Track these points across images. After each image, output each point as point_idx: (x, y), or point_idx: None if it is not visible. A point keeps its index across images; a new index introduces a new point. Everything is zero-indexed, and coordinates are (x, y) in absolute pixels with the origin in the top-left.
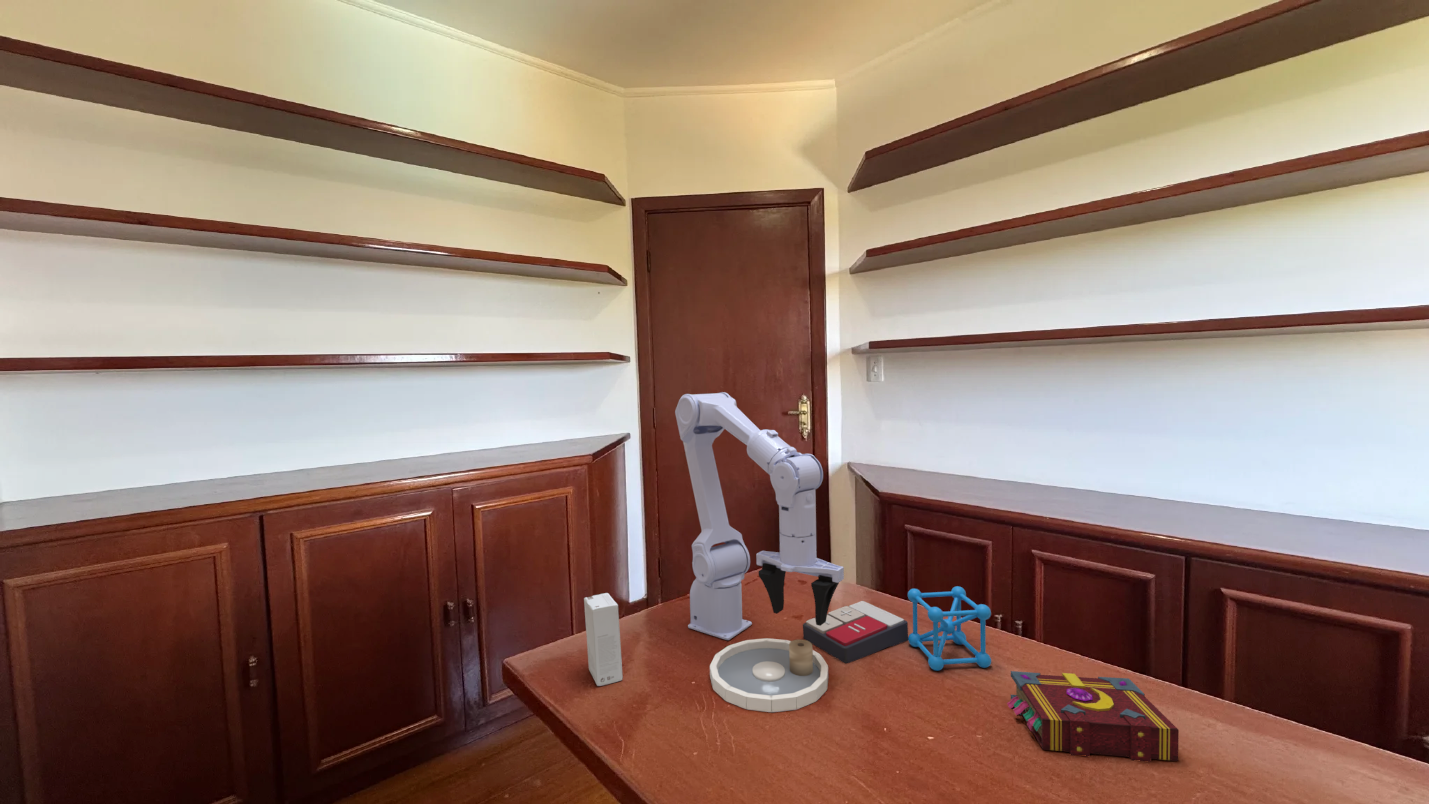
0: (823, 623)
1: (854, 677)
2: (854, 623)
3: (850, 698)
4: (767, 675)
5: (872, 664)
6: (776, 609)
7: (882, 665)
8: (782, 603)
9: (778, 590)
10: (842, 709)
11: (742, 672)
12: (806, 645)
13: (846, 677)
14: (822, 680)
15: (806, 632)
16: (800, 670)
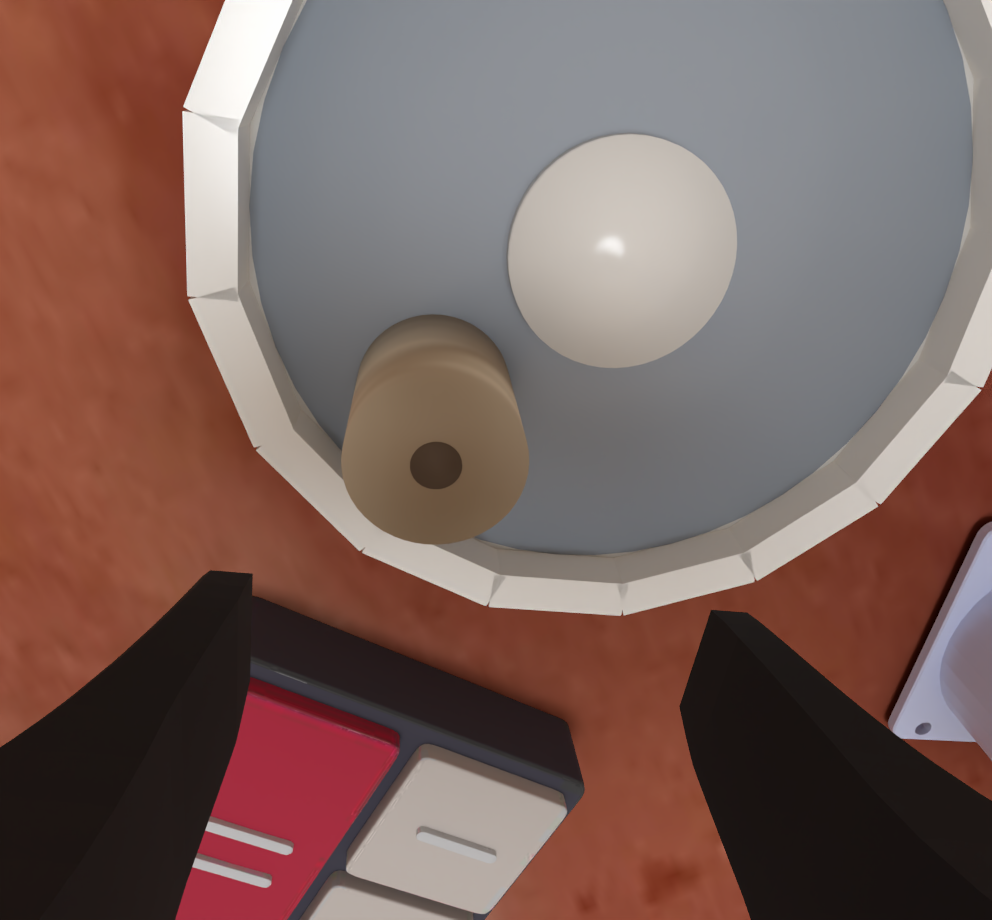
0: (454, 826)
1: (131, 484)
2: (277, 890)
3: (32, 251)
4: (604, 177)
5: (110, 647)
6: (729, 636)
7: (57, 660)
8: (702, 748)
9: (795, 846)
10: (7, 94)
11: (793, 174)
12: (390, 475)
13: (172, 464)
14: (198, 251)
15: (548, 745)
16: (406, 327)
